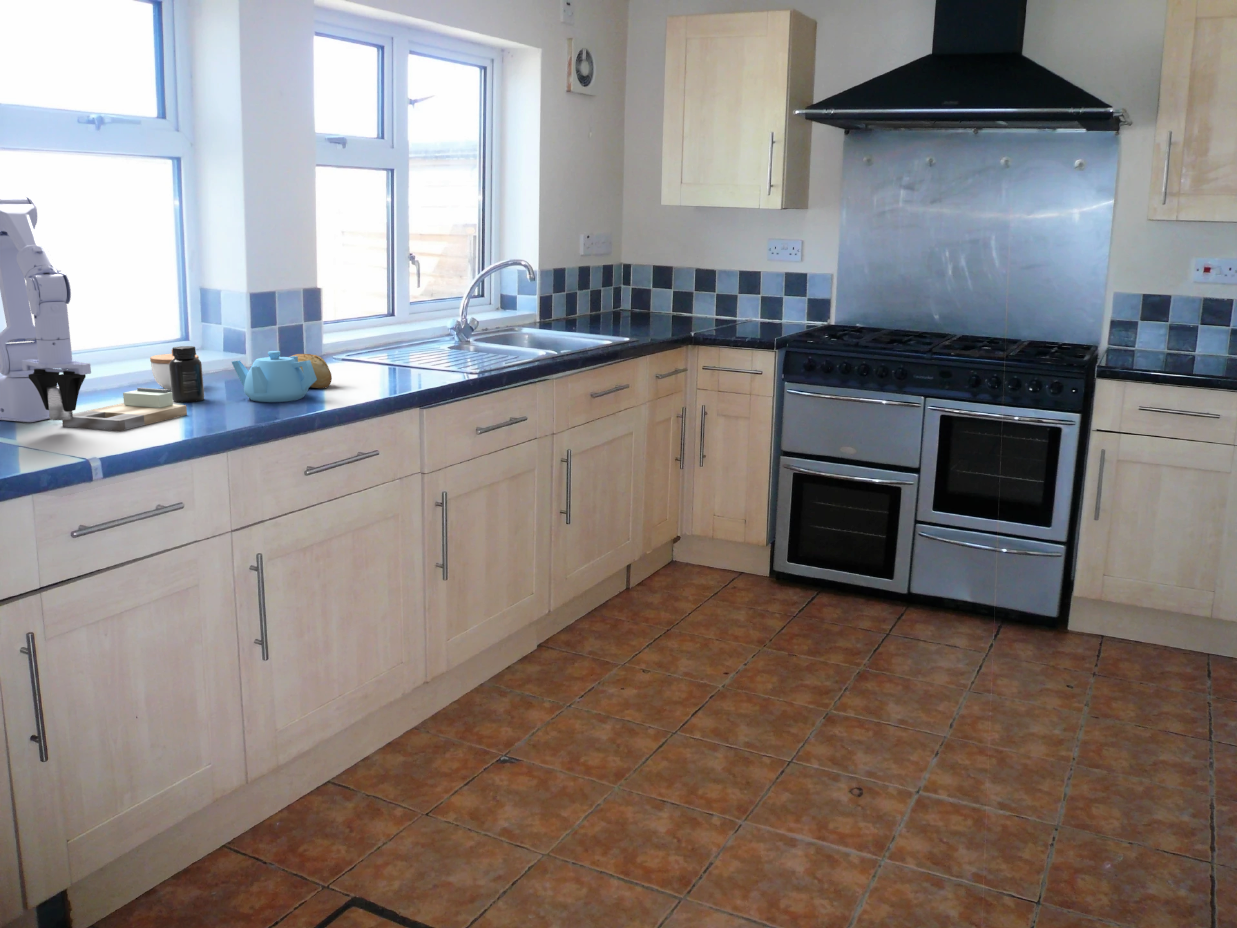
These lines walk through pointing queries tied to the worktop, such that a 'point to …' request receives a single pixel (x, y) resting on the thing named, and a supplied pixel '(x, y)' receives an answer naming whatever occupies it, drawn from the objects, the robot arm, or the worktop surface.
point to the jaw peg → (57, 405)
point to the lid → (148, 398)
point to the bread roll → (317, 370)
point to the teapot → (276, 378)
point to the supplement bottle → (186, 375)
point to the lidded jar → (162, 369)
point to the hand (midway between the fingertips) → (60, 410)
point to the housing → (123, 416)
